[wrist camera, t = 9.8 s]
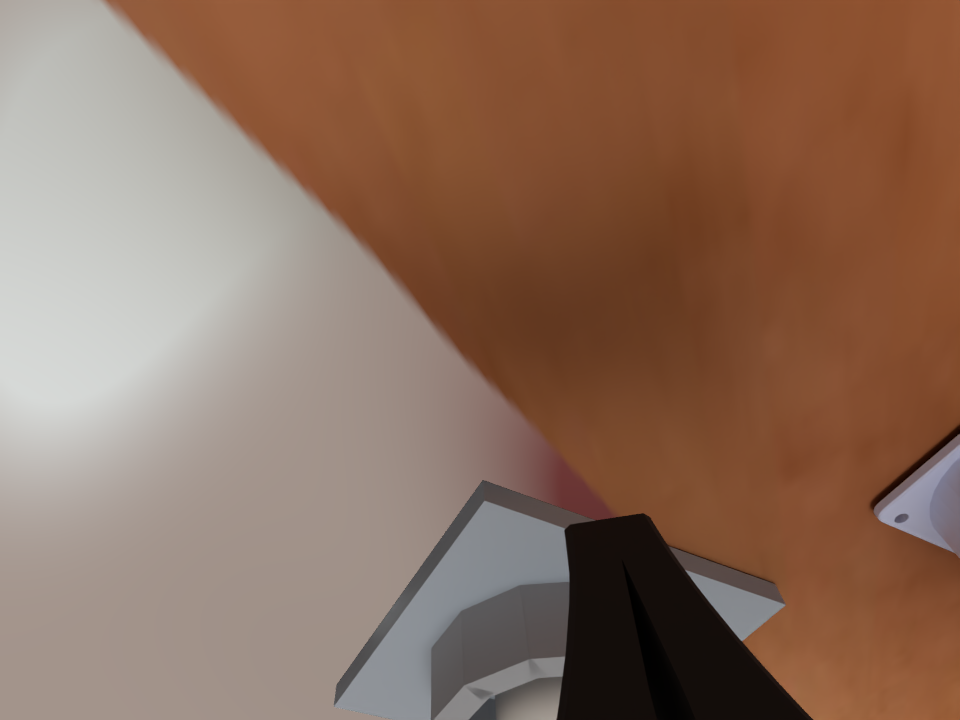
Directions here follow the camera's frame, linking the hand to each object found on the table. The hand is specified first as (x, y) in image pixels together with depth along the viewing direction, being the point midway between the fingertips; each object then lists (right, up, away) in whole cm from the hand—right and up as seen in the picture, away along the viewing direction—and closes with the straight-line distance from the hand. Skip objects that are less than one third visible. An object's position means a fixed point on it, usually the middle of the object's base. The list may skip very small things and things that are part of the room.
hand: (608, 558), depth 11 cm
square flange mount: (+1, -9, +17) cm, 19 cm away
